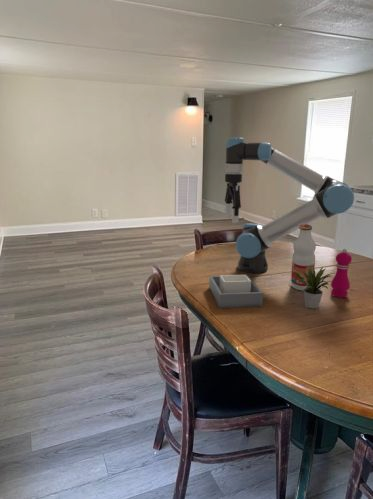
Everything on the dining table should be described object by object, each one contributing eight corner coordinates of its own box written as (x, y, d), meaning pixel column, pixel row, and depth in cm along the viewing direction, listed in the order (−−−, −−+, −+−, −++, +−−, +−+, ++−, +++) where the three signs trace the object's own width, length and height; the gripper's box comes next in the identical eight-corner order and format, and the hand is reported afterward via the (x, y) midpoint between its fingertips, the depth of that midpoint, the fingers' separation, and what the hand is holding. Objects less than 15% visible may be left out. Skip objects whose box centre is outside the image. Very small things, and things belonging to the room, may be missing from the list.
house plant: (326, 318, 135) (331, 275, 131) (288, 309, 142) (292, 268, 138) (334, 305, 147) (339, 265, 143) (299, 297, 154) (303, 259, 150)
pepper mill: (340, 299, 152) (346, 252, 147) (326, 293, 159) (331, 247, 153) (352, 296, 156) (358, 250, 150) (338, 290, 162) (343, 246, 157)
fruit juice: (316, 290, 161) (321, 229, 150) (293, 291, 161) (297, 230, 150) (309, 280, 169) (313, 221, 158) (288, 281, 169) (291, 222, 159)
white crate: (244, 290, 158) (245, 274, 156) (250, 297, 151) (251, 281, 149) (219, 291, 157) (219, 275, 155) (223, 298, 149) (224, 282, 147)
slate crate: (247, 286, 165) (247, 274, 164) (262, 306, 145) (263, 292, 144) (209, 288, 163) (209, 276, 162) (219, 308, 143) (219, 294, 142)
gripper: (219, 171, 180) (218, 215, 185) (232, 175, 156) (230, 225, 161) (234, 171, 181) (233, 215, 186) (249, 175, 157) (246, 225, 162)
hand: (231, 220), depth 174 cm, fingers open, 13 cm apart
